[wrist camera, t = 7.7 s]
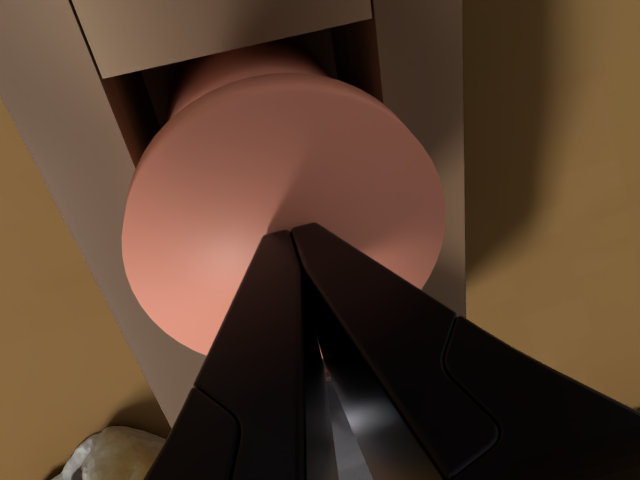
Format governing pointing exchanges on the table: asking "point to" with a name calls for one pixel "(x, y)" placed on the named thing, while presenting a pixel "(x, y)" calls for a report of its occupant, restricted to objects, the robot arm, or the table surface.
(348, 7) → the brown wooden rack
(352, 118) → the pink stopper
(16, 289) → the table surface
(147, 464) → the pastry
